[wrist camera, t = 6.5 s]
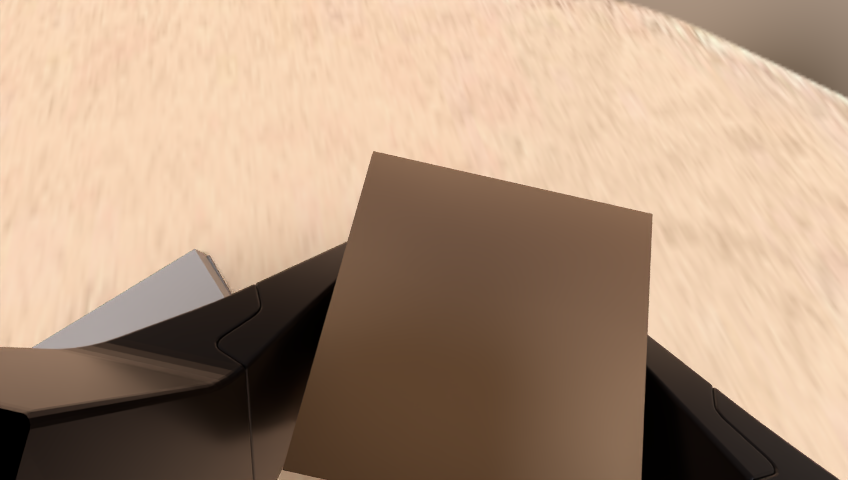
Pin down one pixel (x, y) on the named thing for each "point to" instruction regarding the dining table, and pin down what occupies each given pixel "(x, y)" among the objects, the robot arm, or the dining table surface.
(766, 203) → the dining table surface
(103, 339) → the upper grey slab
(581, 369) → the walnut post
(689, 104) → the dining table surface
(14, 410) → the robot arm
